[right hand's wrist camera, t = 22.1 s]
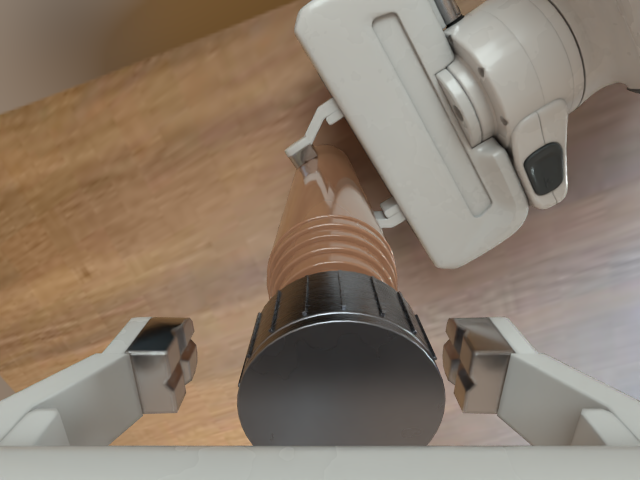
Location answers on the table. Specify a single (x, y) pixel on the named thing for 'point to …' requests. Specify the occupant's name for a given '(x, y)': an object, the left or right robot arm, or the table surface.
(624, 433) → the right robot arm
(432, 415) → the cap
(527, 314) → the table surface
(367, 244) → the bottle
